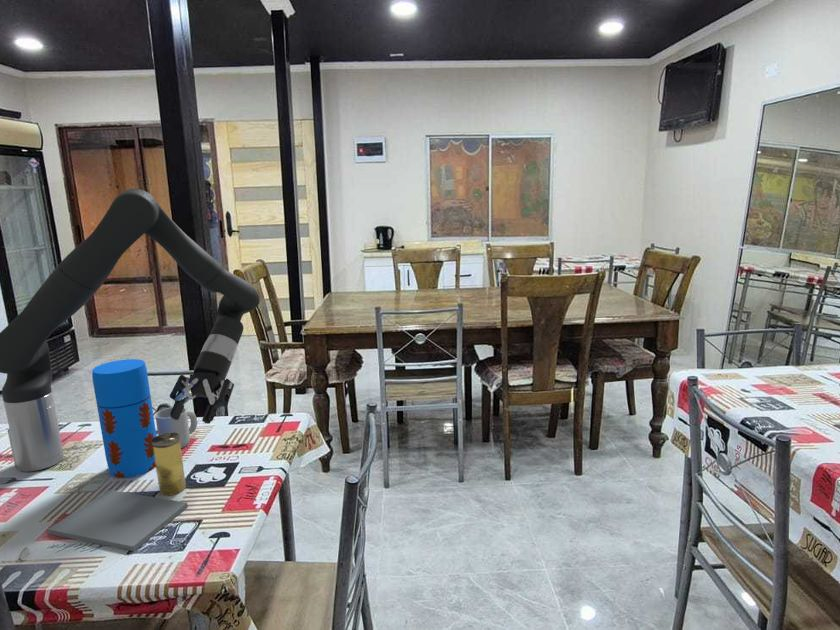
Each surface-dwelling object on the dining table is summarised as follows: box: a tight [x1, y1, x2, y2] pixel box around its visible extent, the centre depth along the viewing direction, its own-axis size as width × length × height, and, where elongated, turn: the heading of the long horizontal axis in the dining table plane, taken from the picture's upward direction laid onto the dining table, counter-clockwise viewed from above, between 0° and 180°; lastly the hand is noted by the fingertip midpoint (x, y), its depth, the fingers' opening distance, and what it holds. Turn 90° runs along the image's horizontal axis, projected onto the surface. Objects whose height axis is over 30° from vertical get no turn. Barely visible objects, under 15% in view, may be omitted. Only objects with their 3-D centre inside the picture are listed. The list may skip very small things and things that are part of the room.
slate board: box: [47, 489, 189, 552], centre depth 102 cm, size 20×14×1 cm
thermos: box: [91, 358, 157, 479], centre depth 120 cm, size 11×11×25 cm
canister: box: [152, 433, 187, 496], centre depth 112 cm, size 5×5×12 cm
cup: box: [154, 406, 198, 449], centre depth 134 cm, size 7×10×9 cm
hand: (189, 420), depth 117 cm, fingers open, 8 cm apart
